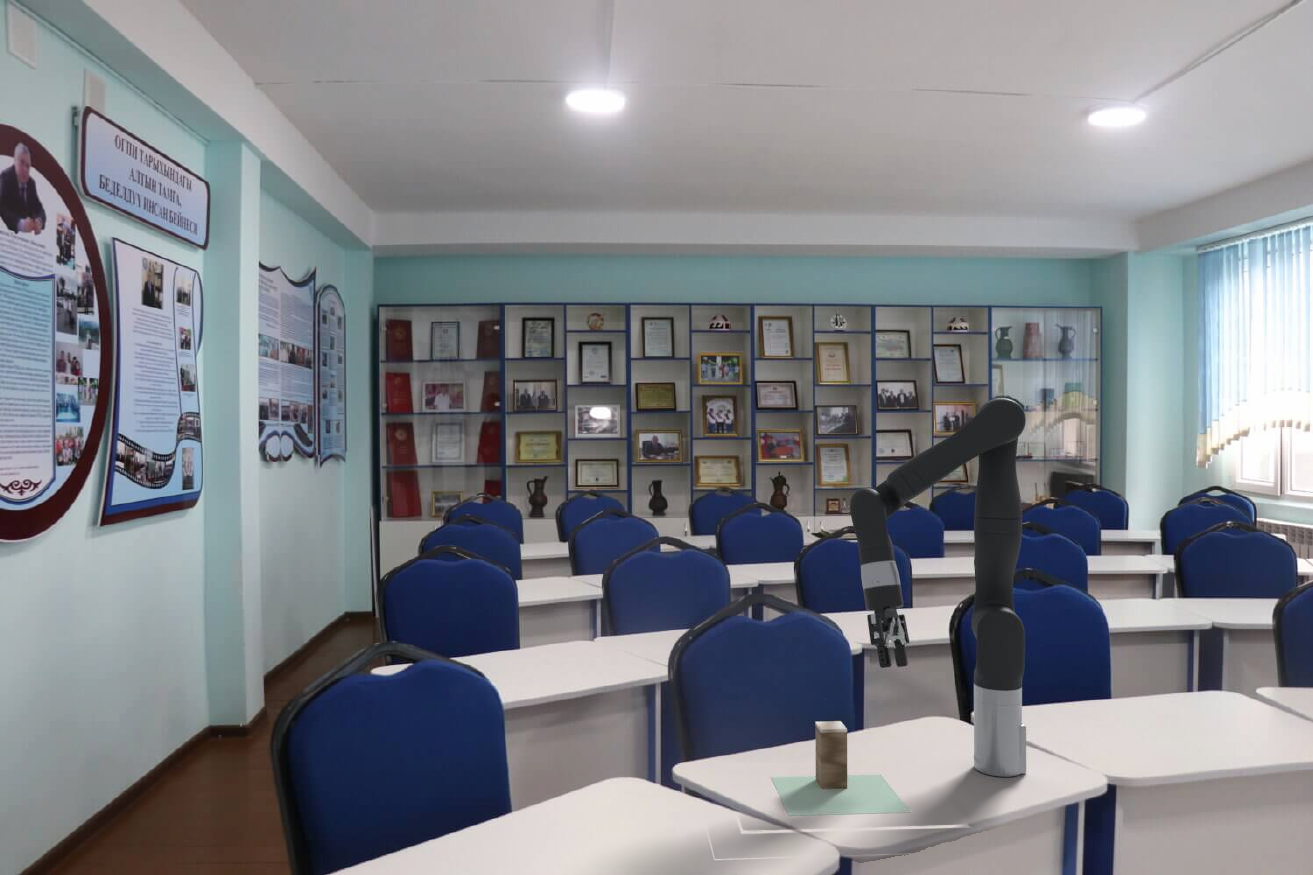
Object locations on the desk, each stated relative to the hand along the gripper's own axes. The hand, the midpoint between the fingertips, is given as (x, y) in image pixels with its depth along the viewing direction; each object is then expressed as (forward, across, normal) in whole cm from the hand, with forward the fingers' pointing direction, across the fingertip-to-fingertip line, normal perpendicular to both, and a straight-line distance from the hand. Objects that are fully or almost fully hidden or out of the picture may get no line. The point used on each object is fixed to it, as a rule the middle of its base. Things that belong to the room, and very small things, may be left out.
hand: (894, 666), depth 193 cm
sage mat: (+22, -13, +10) cm, 28 cm away
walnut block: (+21, -9, +13) cm, 26 cm away
